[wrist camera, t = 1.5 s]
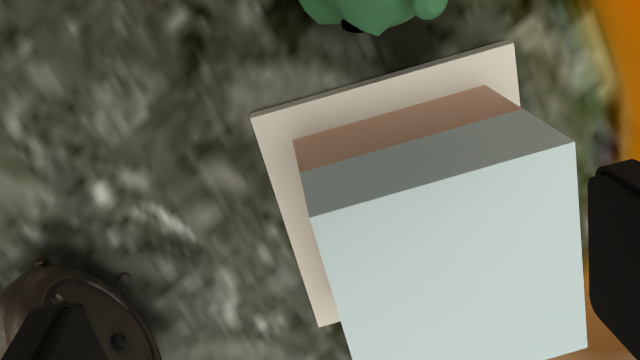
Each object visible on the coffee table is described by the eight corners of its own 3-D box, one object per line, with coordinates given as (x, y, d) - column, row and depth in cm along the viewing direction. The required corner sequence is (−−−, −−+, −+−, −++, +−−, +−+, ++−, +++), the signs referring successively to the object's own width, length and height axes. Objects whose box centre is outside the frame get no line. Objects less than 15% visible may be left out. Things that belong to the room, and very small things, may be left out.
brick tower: (250, 113, 33) (251, 190, 23) (506, 40, 33) (617, 85, 23) (317, 318, 40) (340, 447, 30) (530, 257, 40) (624, 364, 30)
